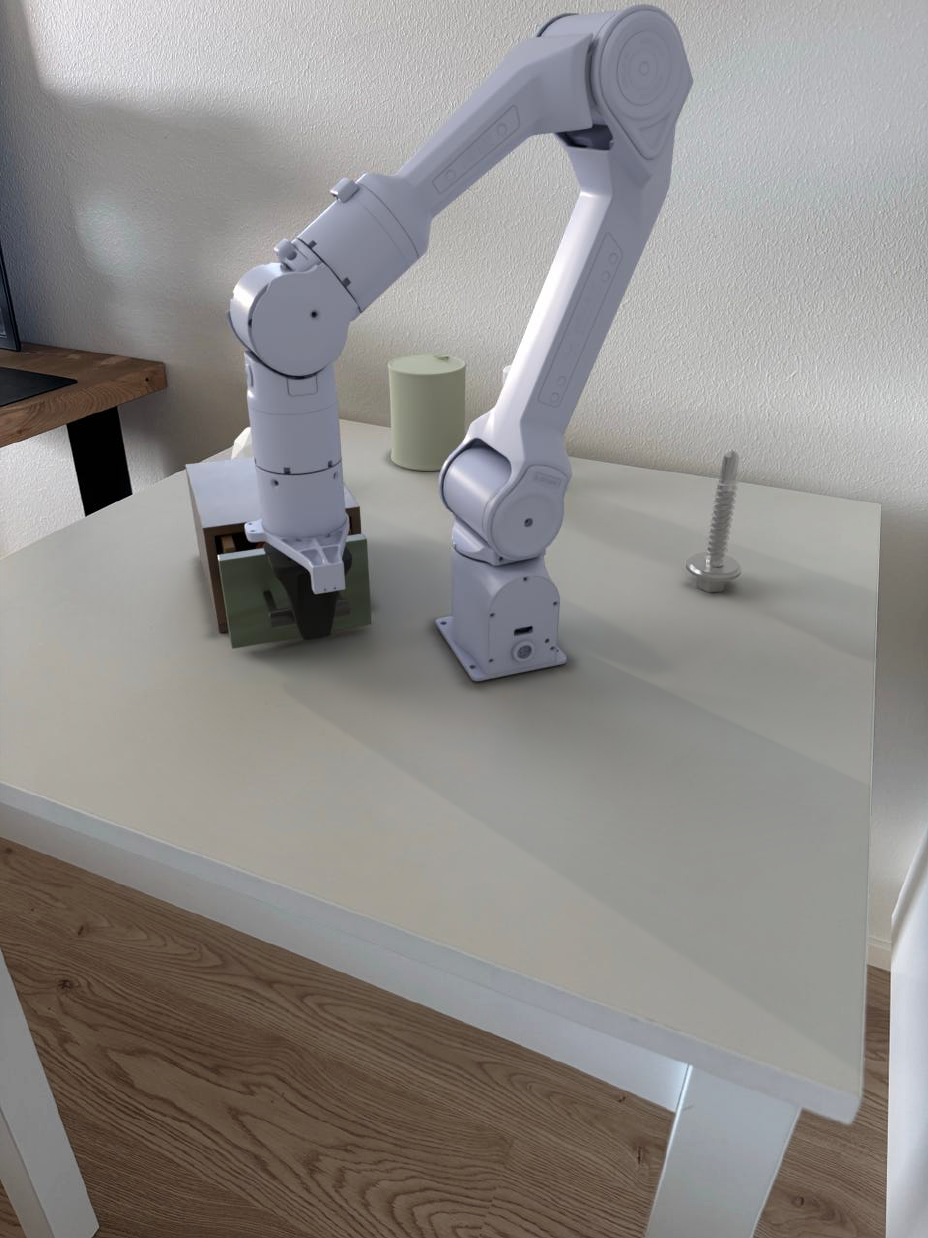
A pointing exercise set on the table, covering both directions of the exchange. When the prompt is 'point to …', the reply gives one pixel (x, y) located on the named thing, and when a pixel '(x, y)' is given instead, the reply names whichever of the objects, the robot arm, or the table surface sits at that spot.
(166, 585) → the table surface
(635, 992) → the table surface
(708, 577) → the screw
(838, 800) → the table surface
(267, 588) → the drawer
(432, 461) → the can
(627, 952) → the table surface
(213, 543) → the cabinet
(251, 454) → the geometric ball
